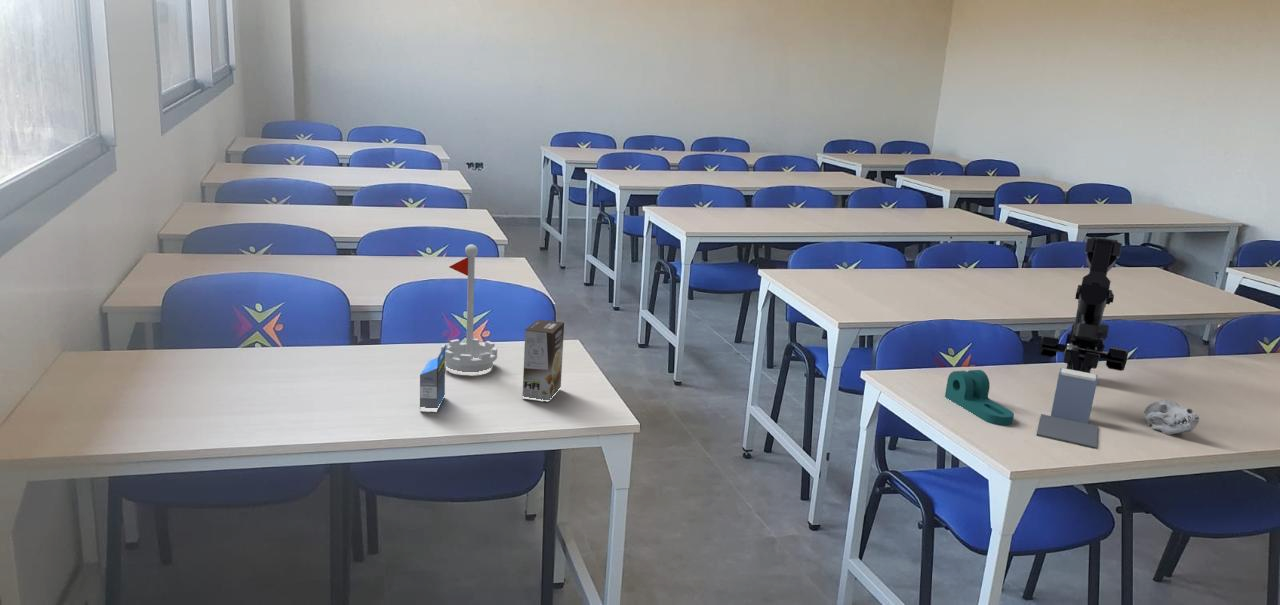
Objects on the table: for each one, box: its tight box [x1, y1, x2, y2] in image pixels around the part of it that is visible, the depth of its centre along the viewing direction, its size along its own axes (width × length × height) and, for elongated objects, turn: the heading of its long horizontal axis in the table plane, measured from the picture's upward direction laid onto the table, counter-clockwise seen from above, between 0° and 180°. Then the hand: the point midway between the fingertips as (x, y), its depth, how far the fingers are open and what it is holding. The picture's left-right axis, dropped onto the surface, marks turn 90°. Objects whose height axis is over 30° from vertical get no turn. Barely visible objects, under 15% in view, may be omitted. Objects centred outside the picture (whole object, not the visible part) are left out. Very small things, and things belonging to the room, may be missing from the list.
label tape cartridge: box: [419, 343, 447, 408], centre depth 196 cm, size 9×4×12 cm, turn 1°
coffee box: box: [522, 319, 565, 400], centre depth 206 cm, size 9×6×16 cm
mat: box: [1036, 413, 1099, 450], centre depth 208 cm, size 14×12×1 cm
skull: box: [1143, 399, 1200, 436], centre depth 212 cm, size 8×9×12 cm
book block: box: [1050, 367, 1099, 424], centre depth 215 cm, size 4×8×11 cm, turn 63°
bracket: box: [944, 369, 1015, 427], centre depth 216 cm, size 18×7×8 cm, turn 19°
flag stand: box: [440, 244, 498, 372], centre depth 217 cm, size 13×13×30 cm
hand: (1076, 383), depth 217 cm, fingers closed
